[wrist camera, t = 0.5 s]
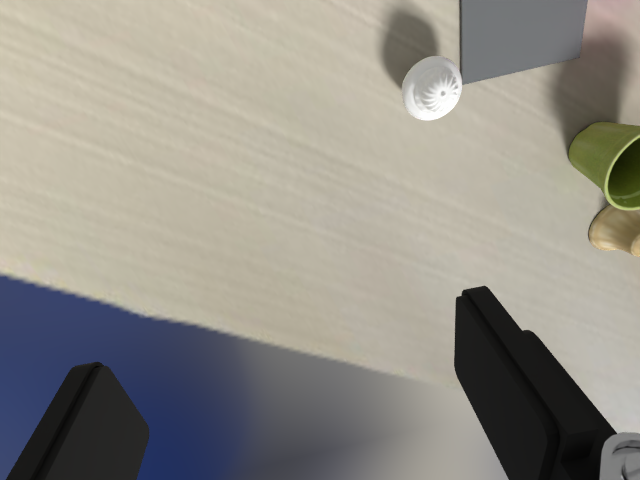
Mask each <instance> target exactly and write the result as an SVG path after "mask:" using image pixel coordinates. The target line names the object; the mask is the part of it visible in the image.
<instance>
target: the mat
mask: <svg viewBox="0 0 640 480" xmlns="http://www.w3.org/2000/svg"><path fill="white" fill-rule="evenodd" d="M587 2H588V0H460V9H461V78H462V85H464V84H468V83H472V82H477V81H481V80H485V79H490V78H494V77H498V76H503V75H507V74H511V73H515V72H520V71H524V70H528V69H533V68H537V67H541V66H545V65H550V64H554V63H558V62H563V61H567V60H571V59H575V58H580V51H581V44H582V37H583V30H584V23H585V16H586V9H587Z"/></svg>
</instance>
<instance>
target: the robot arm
mask: <svg viewBox="0 0 640 480" xmlns="http://www.w3.org/2000/svg"><path fill="white" fill-rule="evenodd" d="M454 367H455V371H456V375H457V377H458V380H459V382H460V384H461V385H462V387H463V389H464V391H465V393H466V395H467V397H468V399H469V401H470V403H471V405H472V407H473V409H474V411H475V413H476V415H477V417H478V419H479V421H480V423H481V425H482V427H483V429H484V431H485V433H486V435H487V437H488V439H489V441H490V443H491V445H492V447H493V449H494V451H495V453H496V455H497V457H498V459H499V460H500V463H501V465H502V467H503V469H504V471H505V473H506V475H507V477H508V479H509V480H640V434H639V433H626V432H622V433H619V434H617V433H616V431H615V430H614V429H613V428H612V427H611V425H610V424H609V423H608V422H607V420H606V419H605V418H604V417H603V416H602V414H601V413H600V412H599V411H598V410H597V408H596V407H595V406H594V405H593V403H592V402H591V401H590V400H589V399H588V397H587V396H586V395H585V394H584V392H583V391H582V390H581V389H580V388H579V386H578V385H577V384H576V383H575V381H574V380H573V379H572V378H571V377H570V375H569V374H568V373H567V372H566V371H565V369H564V368H563V367H562V366H561V364H560V363H559V362H558V361H557V360H556V358H555V357H554V356H553V355H552V353H551V352H550V351H549V350H548V349H547V347H546V346H545V345H544V344H543V342H542V341H541V340H540V339H539V338H538V337H537V336H536V335H535V334H534V333H533V332H531V331H530V330H524V331H522V330H521V329H520V328H519V326H518V325H517V324H516V322H515V321H514V320H513V319H512V317H511V316H510V315H509V314H508V312H507V311H506V310H505V308H504V307H503V306H502V305H501V303H500V302H499V301H498V300H497V298H496V297H495V296H494V294H493V293H492V292H491V291H490V289H489V288H488V287H486V286H481V287H476V288H471V289H466V290H463V291H462V296H459V297H457V298H456V316H455V356H454ZM148 439H149V428H148V425H147V423H146V422H145V421H144V419H143V417H142V416H141V414H140V413H139V411H138V410H137V409H136V407H135V405H134V404H133V402H132V401H131V399H130V398H129V396H128V395H127V393H126V392H125V390H124V389H123V387H122V386H121V385H120V383H119V381H118V380H117V378H116V377H115V375H114V374H113V372H112V371H111V369H109V367H107V366H104V365H102V363H100V362H94V363H89V364H83V365H78V366H75V367H73V368H72V369H71V370H70V372H69V373H68V375H67V376H66V378H65V380H64V381H63V383H62V385H61V386H60V388H59V390H58V392H57V393H56V395H55V397H54V399H53V400H52V402H51V404H50V405H49V407H48V409H47V410H46V412H45V414H44V416H43V417H42V419H41V421H40V422H39V424H38V426H37V428H36V429H35V431H34V433H33V434H32V436H31V438H30V440H29V441H28V443H27V445H26V446H25V448H24V450H23V451H22V453H21V455H20V456H19V458H18V460H17V462H16V463H15V465H14V467H13V468H12V470H11V472H10V474H9V475H8V477H7V479H6V480H136V479H137V476H138V473H139V469H140V466H141V463H142V459H143V456H144V453H145V449H146V446H147V443H148Z"/></svg>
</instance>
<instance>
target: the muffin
mask: <svg viewBox="0 0 640 480" xmlns="http://www.w3.org/2000/svg"><path fill="white" fill-rule="evenodd" d="M461 91H462V78H461V74H460V71H459V69H458V67H457V66H456V65H455V63H454V62H452V61H451V60H450V59H448V58H445V57H442V56H430V57H427V58H424V59H422V60H421V61H419V62H418V63H416V64H415V65H414V66H412V68H411V69H410V70H409V71H408V73H407V75H406V76H405V78H404V81H403V85H402V99H403V103H404V106H405V108H406V109H407V111H408V112H409V113H410V114H411V115H412V116H414V117H416V118H418V119H420V120H434V119H437V118H440V117H442V116H444V115H445V114H447V113H448V112H449V111H450V110H451V109H452V108H453V107H454V106H455V105H456V103H457V101H458V99H459V97H460V94H461Z"/></svg>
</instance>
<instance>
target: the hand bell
mask: <svg viewBox="0 0 640 480" xmlns="http://www.w3.org/2000/svg"><path fill="white" fill-rule="evenodd" d="M589 239H590V242H591V244H592V245H593V246H594V247H596V248H597V249H601V250H616V249H620V250H623V251H626V252H628V253H630V254H632V255H634V256H637V257H640V209H638V210H622V209H618V208H616V207H614V206H612V205H611V204H610V205H609V206H607V207H606V208H605V209H603V210H602V211H601V212H600V213H599V214H598V215H597V217H596V218H595V219H594V221H593V222H592V224H591V227H590V230H589Z"/></svg>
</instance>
